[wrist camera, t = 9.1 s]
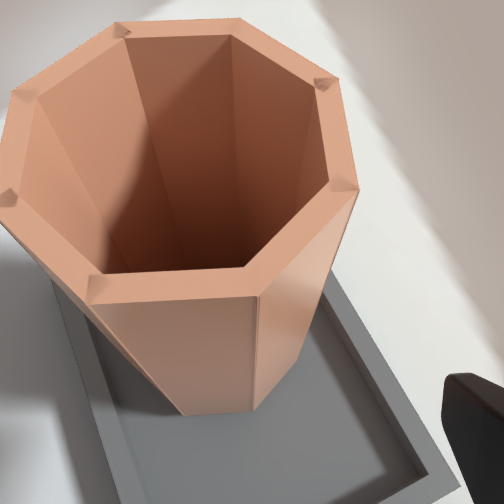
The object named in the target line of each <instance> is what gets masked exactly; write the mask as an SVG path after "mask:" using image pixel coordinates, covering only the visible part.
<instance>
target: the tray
mask: <svg viewBox="0 0 504 504" xmlns="http://www.w3.org/2000/svg"><path fill="white" fill-rule="evenodd" d="M50 278H51V277H50ZM51 281H52V284H53V287H54V291H55V294H56V297H57V300H58V303H59V307H60V310H61V313H62V316H63V319H64V323H65V326H66V329H67V332H68V335H69V339H70V342H71V345H72V348H73V351H74V355H75V358H76V361H77V364H78V367H79V371H80V374H81V377H82V380H83V383H84V387H85V390H86V393H87V396H88V400H89V403H90V406H91V409H92V412H93V416H94V419H95V422H96V425H97V428H98V432H99V435H100V438H101V441H102V444H103V448H104V451H105V454H106V457H107V460H108V464H109V467H110V470H111V473H112V476H113V480H114V483H115V486H116V489H117V492H118V496H119V499H120V502H121V504H432V503H433V502H435V501H437V500H439V499H440V498H442V497H444V496H445V495H447V494H449V493H451V492H452V491H454V490H456V489H457V488H459V487H461V485H460V484H459V482H458V480H457V479H456V477H455V475H454V474H453V472H452V470H451V469H450V467H449V465H448V464H447V462H446V460H445V459H444V457H443V455H442V454H441V452H440V450H439V449H438V447H437V445H436V444H435V442H434V440H433V439H432V437H431V435H430V434H429V432H428V430H427V429H426V427H425V425H424V424H423V422H422V420H421V419H420V417H419V415H418V414H417V412H416V410H415V409H414V407H413V405H412V404H411V402H410V400H409V399H408V397H407V395H406V394H405V392H404V390H403V389H402V387H401V385H400V384H399V382H398V380H397V379H396V377H395V375H394V374H393V372H392V370H391V369H390V367H389V365H388V364H387V362H386V360H385V359H384V357H383V355H382V354H381V352H380V350H379V349H378V347H377V345H376V344H375V342H374V340H373V339H372V337H371V335H370V334H369V332H368V330H367V329H366V327H365V326H364V324H363V322H362V321H361V319H360V317H359V316H358V314H357V312H356V311H355V309H354V307H353V306H352V304H351V302H350V301H349V299H348V297H347V296H346V294H345V292H344V291H343V289H342V287H341V286H340V284H339V282H338V281H337V279H336V277H335V276H334V274H333V272H332V271H331V270H330V273H329V275H328V278H327V281H326V284H325V286H324V289H323V292H322V294H321V297H320V300H319V303H318V305H317V308H316V311H315V313H314V316H313V319H312V322H311V324H310V327H309V330H308V333H307V335H306V338H305V341H304V343H303V346H302V349H301V352H300V354H299V357H298V360H297V361H296V362H295V363H294V365H293V366H292V367H291V368H290V369H289V370H288V372H287V373H286V374H285V375H284V376H283V377H282V379H281V380H280V381H279V382H278V383H277V384H276V386H275V387H274V388H273V389H272V390H271V392H270V393H269V394H268V395H267V396H266V397H265V399H264V400H263V401H262V402H261V403H260V404H259V406H258V407H257V408H256V409H255V410H254V412H241V413H225V414H208V415H191V416H183V415H182V414H181V413H180V412H179V411H178V410H177V409H176V408H175V407H174V406H173V405H172V404H171V403H170V402H169V401H168V400H167V399H166V398H165V397H164V396H163V395H162V394H161V393H160V392H159V391H158V390H157V389H156V388H155V387H154V386H153V385H152V384H151V383H150V382H149V381H148V380H147V379H146V378H145V377H144V376H143V375H142V374H141V373H140V372H139V371H138V370H136V369H135V367H134V366H133V365H132V364H131V363H130V362H129V361H128V360H127V359H126V358H125V357H124V356H123V355H122V354H121V352H120V351H119V350H118V349H117V348H116V347H115V346H114V345H113V344H112V343H111V342H110V341H109V340H108V338H107V337H106V336H105V335H104V334H103V333H102V332H101V331H100V330H99V329H98V328H97V327H96V326H95V325H94V323H93V322H92V321H91V320H90V319H89V318H88V317H87V316H86V315H85V314H84V313H83V312H82V311H81V309H80V308H79V307H78V306H77V305H76V304H75V303H74V302H73V301H72V300H71V299H70V298H69V297H68V295H67V294H66V293H65V292H64V291H63V290H62V289H61V288H60V287H59V286H58V285H57V284H56V283H55V282H54V280H53V279H52V278H51Z"/></svg>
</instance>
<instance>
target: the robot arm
mask: <svg viewBox="0 0 504 504" xmlns="http://www.w3.org/2000/svg"><path fill="white" fill-rule="evenodd" d="M441 420H442V425H443V429H444V431H445V434H446V436H447V439H448V441H449V444H450V446H451V449H452V451H453V453H454V456H455V458H456V461H457V463H458V466H459V468H460V471H461V473H462V476H463V478H464V480H465V483H466V485H467V488H468V490H469V493H470V495H471V498H472V500H473V502H474V504H504V388H503V387H501V386H499V385H497V384H494V383H492V382H490V381H488V380H486V379H484V378H482V377H479V376H477V375H475V374H473V373H455V374H449V375H448V376H447V377H446V379H445V382H444V390H443V400H442V410H441Z"/></svg>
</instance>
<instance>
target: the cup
mask: <svg viewBox="0 0 504 504" xmlns="http://www.w3.org/2000/svg"><path fill="white" fill-rule="evenodd" d="M11 92H12V94H11V99H10V103H9V108H8V112H7V117H6V121H5V125H4V130H3V134H2V139H1V143H0V223H1V225H2V226H3V227H4V228H5V229H6V230H7V231H8V232H9V233H10V234H11V235H12V236H13V237H14V239H15V240H16V241H17V242H18V243H19V244H20V245H21V246H22V247H23V248H24V249H25V250H26V251H27V253H28V254H29V255H30V256H31V257H32V258H33V259H34V260H35V261H36V262H37V263H38V264H39V265H40V266H41V268H42V269H43V270H44V271H45V272H46V273H47V274H48V275H49V276H50V277H51V278H52V279H53V280H54V282H55V283H56V284H57V285H58V286H59V287H60V288H61V289H62V290H63V291H64V292H65V293H66V294H67V295H68V297H69V298H70V299H71V300H72V301H73V302H74V303H75V304H76V305H77V306H78V307H79V308H80V309H81V311H82V312H83V313H84V314H85V315H86V316H87V317H88V318H89V319H90V320H91V321H92V322H93V323H94V325H95V326H96V327H97V328H98V329H99V330H100V331H101V332H102V333H103V334H104V335H105V336H106V337H107V338H108V340H109V341H110V342H111V343H112V344H113V345H114V346H115V347H116V348H117V349H118V350H119V351H120V352H121V354H122V355H123V356H124V357H125V358H126V359H127V360H128V361H129V362H130V363H131V364H132V365H133V366H134V367H135V369H136V370H138V371H139V372H140V373H141V374H142V375H143V376H144V377H145V378H146V379H147V380H148V381H149V382H150V383H151V384H152V385H153V386H154V387H155V388H156V389H157V390H158V391H159V392H160V393H161V394H162V395H163V396H164V397H165V398H166V399H167V400H168V401H169V402H170V403H171V404H172V405H173V406H174V407H175V408H176V409H177V410H178V411H179V412H180V413H181V414H182V415H183V416H191V415H208V414H225V413H241V412H254V410H255V409H256V408H257V407H258V406H259V404H260V403H261V402H262V401H263V400H264V399H265V397H266V396H267V395H268V394H269V393H270V392H271V390H272V389H273V388H274V387H275V386H276V384H277V383H278V382H279V381H280V380H281V379H282V377H283V376H284V375H285V374H286V373H287V372H288V370H289V369H290V368H291V367H292V366H293V365H294V363H295V362H296V361H297V360H298V357H299V354H300V352H301V349H302V346H303V343H304V341H305V338H306V335H307V333H308V330H309V327H310V324H311V322H312V319H313V316H314V313H315V311H316V308H317V305H318V303H319V300H320V297H321V294H322V292H323V289H324V286H325V284H326V281H327V278H328V275H329V273H330V270H331V267H332V264H333V262H334V259H335V256H336V254H337V251H338V248H339V245H340V243H341V240H342V237H343V235H344V232H345V229H346V226H347V224H348V221H349V218H350V215H351V213H352V210H353V207H354V205H355V202H356V199H357V196H358V194H359V191H360V188H359V185H358V180H357V175H356V169H355V164H354V159H353V153H352V148H351V143H350V138H349V132H348V127H347V122H346V116H345V111H344V106H343V101H342V95H341V90H340V85H339V78H338V77H335V76H334V75H332V74H330V73H329V72H327V71H326V70H324V69H322V68H321V67H319V66H317V65H316V64H314V63H312V62H311V61H309V60H308V59H306V58H304V57H303V56H301V55H299V54H298V53H296V52H295V51H293V50H291V49H290V48H288V47H286V46H285V45H283V44H281V43H280V42H278V41H277V40H275V39H273V38H272V37H270V36H268V35H267V34H265V33H263V32H262V31H260V30H259V29H257V28H255V27H254V26H252V25H250V24H249V23H247V22H246V21H244V20H242V19H241V18H224V19H195V20H167V21H138V22H115V23H114V24H112V25H111V26H109V27H108V28H106V29H105V30H103V31H102V32H100V33H99V34H97V35H96V36H94V37H93V38H91V39H90V40H88V41H87V42H85V43H84V44H82V45H81V46H80V47H78V48H76V49H75V50H73V51H72V52H70V53H69V54H67V55H66V56H64V57H63V58H61V59H60V60H58V61H57V62H55V63H54V64H52V65H51V66H50V67H48V68H46V69H45V70H43V71H42V72H40V73H39V74H37V75H36V76H34V77H33V78H31V79H29V80H28V81H26V82H25V83H23V84H22V85H21V86H19V87H17V88H16V89H14V90H12V91H11Z"/></svg>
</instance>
